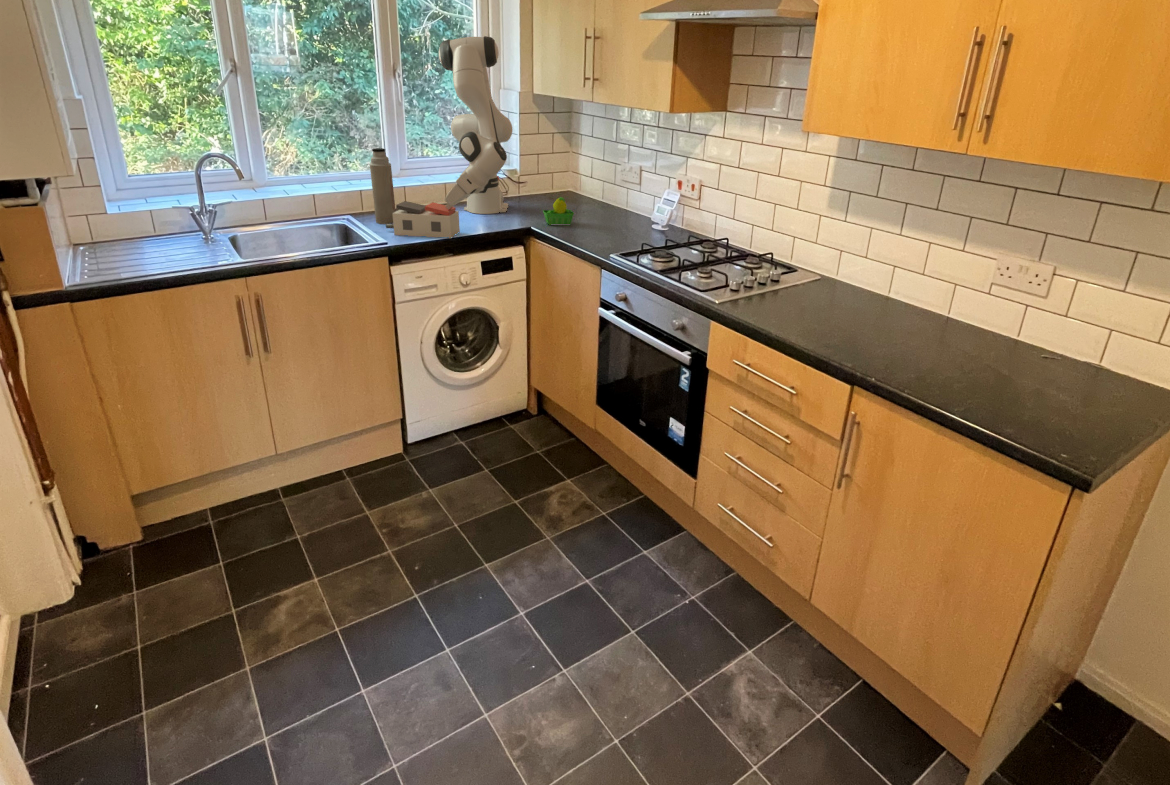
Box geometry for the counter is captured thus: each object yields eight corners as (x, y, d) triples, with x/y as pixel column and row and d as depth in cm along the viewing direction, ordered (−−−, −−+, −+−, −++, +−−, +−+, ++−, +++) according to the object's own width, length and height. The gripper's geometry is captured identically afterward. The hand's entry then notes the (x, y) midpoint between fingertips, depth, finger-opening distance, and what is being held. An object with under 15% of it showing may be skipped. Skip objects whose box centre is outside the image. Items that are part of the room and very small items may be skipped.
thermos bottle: (398, 219, 288) (391, 147, 276) (393, 224, 281) (386, 150, 269) (379, 219, 288) (371, 147, 276) (373, 223, 281) (365, 149, 269)
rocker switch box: (392, 228, 275) (390, 207, 271) (459, 232, 271) (458, 210, 268) (381, 234, 266) (379, 212, 262) (450, 238, 262) (449, 216, 259)
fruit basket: (570, 221, 291) (570, 193, 286) (575, 226, 283) (575, 197, 278) (542, 222, 288) (542, 194, 284) (546, 227, 281) (546, 198, 276)
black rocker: (404, 206, 269) (404, 200, 268) (427, 211, 269) (427, 206, 268) (396, 210, 262) (396, 204, 261) (419, 215, 262) (419, 210, 261)
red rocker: (432, 207, 268) (432, 202, 267) (455, 212, 267) (455, 207, 266) (424, 211, 261) (424, 206, 260) (447, 217, 260) (448, 211, 259)
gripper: (474, 170, 265) (451, 196, 271) (456, 178, 247) (432, 206, 253) (486, 183, 267) (463, 208, 272) (469, 192, 248) (445, 219, 254)
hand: (447, 207), depth 262 cm, fingers closed, pressing on red rocker
